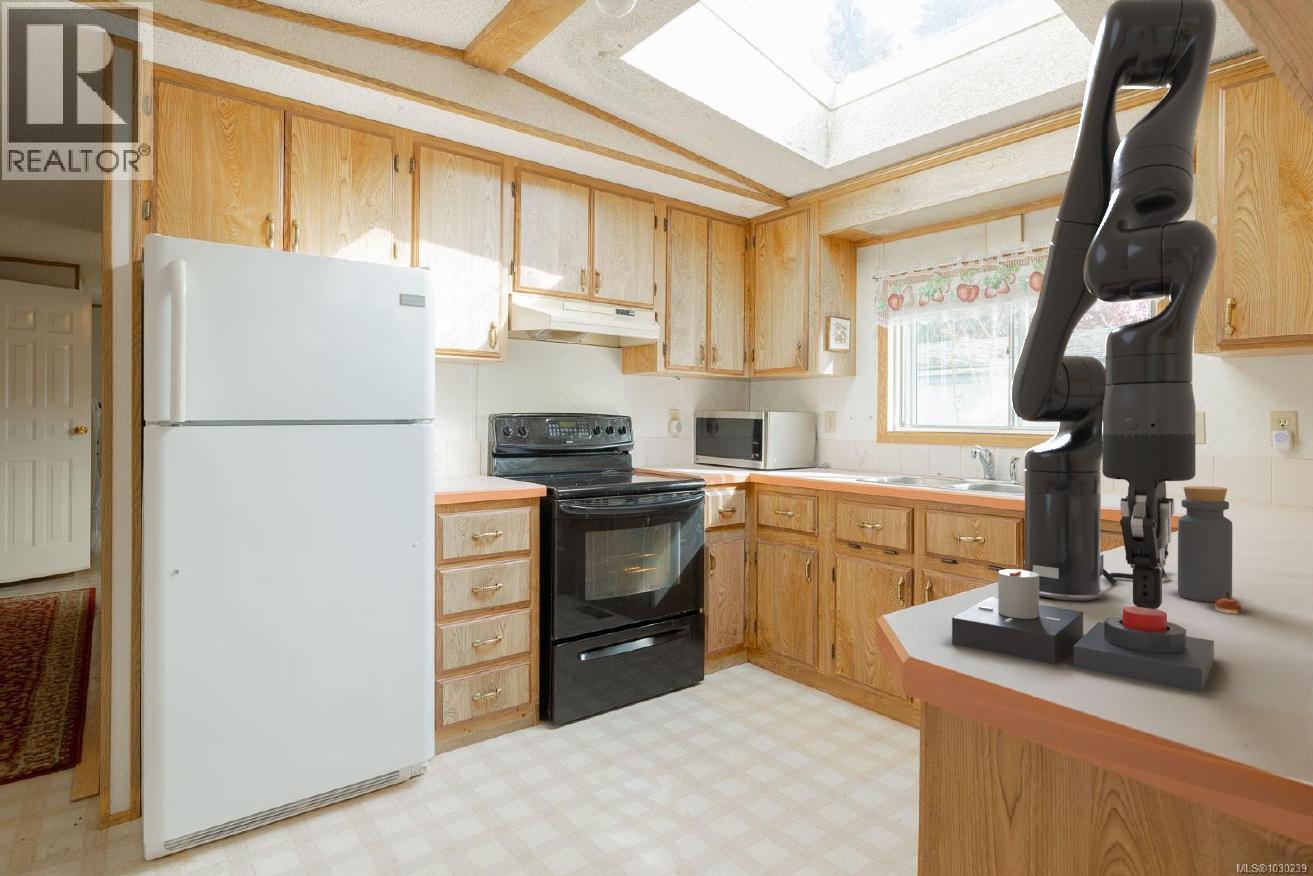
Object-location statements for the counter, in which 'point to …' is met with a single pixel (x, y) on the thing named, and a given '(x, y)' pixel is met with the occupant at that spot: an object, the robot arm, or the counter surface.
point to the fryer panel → (1018, 631)
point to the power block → (1146, 654)
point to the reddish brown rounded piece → (1228, 605)
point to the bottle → (1204, 545)
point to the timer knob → (1018, 594)
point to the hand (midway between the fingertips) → (1147, 606)
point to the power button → (1144, 618)
